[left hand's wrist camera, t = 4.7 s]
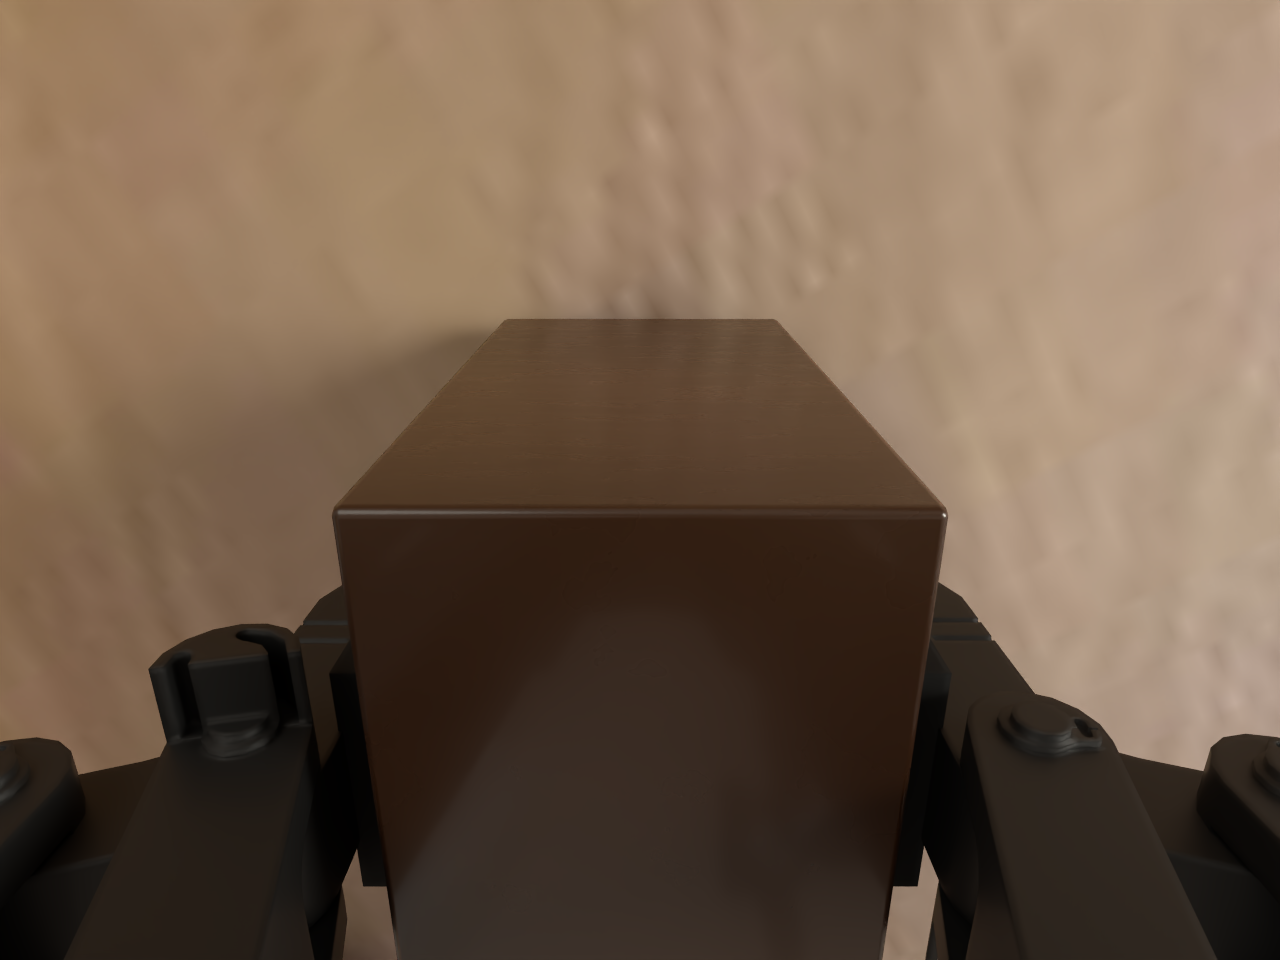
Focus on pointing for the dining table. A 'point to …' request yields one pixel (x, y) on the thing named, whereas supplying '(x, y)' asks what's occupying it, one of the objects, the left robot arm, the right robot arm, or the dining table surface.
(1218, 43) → the dining table surface
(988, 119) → the dining table surface
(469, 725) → the bar
